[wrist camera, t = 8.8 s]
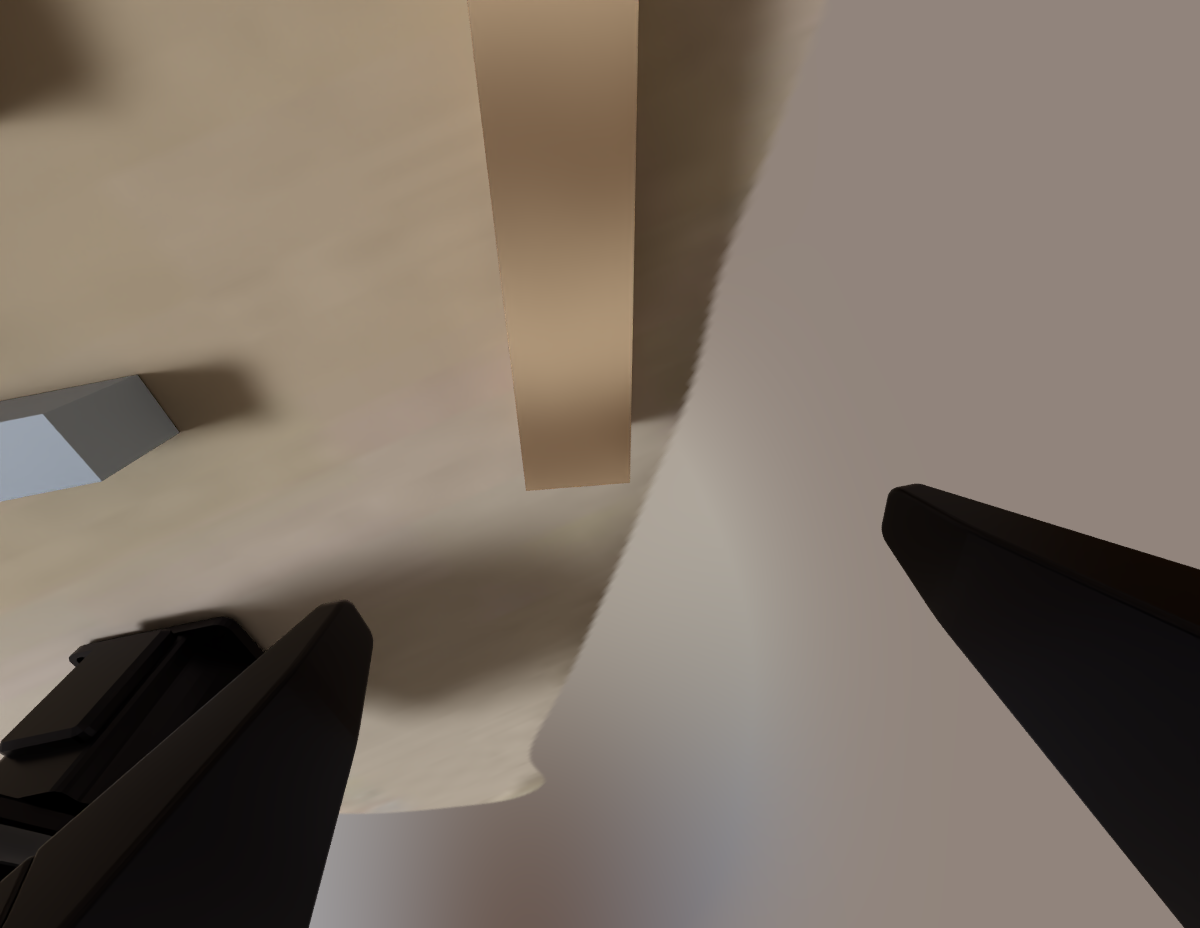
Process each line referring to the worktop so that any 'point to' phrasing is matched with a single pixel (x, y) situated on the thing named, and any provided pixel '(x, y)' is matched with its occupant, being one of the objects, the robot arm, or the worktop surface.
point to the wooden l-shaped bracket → (564, 223)
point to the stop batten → (77, 435)
